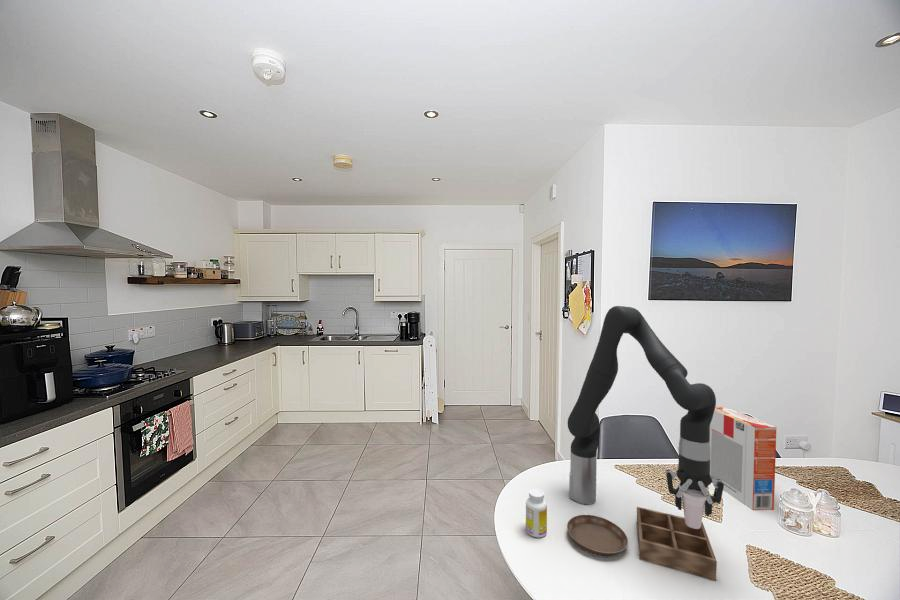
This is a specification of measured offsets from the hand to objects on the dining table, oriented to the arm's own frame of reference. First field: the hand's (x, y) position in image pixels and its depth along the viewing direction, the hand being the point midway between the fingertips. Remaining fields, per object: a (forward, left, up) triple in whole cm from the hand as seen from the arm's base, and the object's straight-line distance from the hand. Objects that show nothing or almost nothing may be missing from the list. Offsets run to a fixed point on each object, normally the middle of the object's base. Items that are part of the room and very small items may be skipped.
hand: (693, 511), depth 104 cm
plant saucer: (-25, -2, -16) cm, 30 cm away
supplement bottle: (-43, -6, -15) cm, 46 cm away
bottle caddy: (-4, +4, -15) cm, 16 cm away
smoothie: (0, 0, -4) cm, 4 cm away
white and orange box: (+23, +51, -15) cm, 58 cm away
